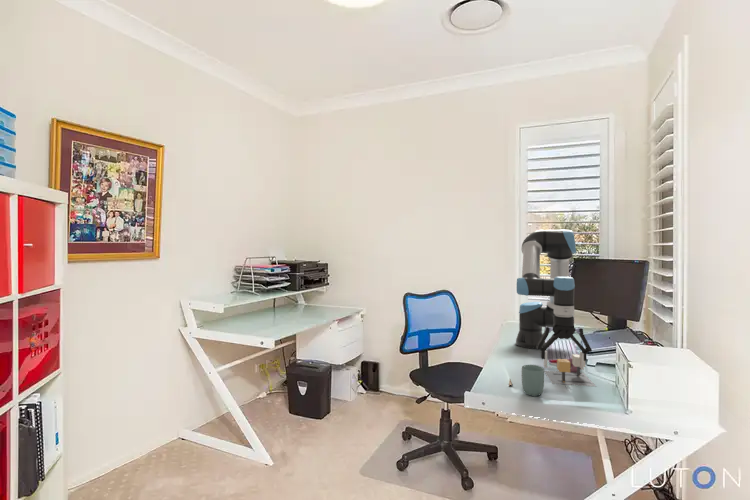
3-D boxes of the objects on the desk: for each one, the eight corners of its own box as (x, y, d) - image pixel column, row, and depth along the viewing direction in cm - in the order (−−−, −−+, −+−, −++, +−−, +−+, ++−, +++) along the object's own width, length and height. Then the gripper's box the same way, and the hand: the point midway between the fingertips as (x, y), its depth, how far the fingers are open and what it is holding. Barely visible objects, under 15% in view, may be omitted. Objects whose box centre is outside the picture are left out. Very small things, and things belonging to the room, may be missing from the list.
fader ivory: (571, 372, 171) (572, 354, 170) (582, 373, 170) (582, 354, 170) (574, 376, 167) (574, 356, 167) (585, 376, 166) (585, 357, 166)
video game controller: (577, 378, 172) (585, 364, 171) (567, 373, 173) (575, 359, 172) (571, 371, 182) (578, 358, 181) (561, 366, 183) (569, 353, 182)
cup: (517, 392, 154) (517, 366, 154) (532, 388, 157) (532, 363, 157) (532, 399, 147) (532, 372, 147) (548, 396, 150) (548, 369, 150)
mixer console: (543, 373, 175) (543, 370, 175) (583, 375, 172) (583, 372, 172) (552, 386, 159) (552, 383, 159) (596, 389, 156) (596, 386, 156)
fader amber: (556, 378, 164) (557, 358, 164) (567, 378, 164) (567, 359, 163) (559, 381, 160) (559, 361, 160) (570, 382, 160) (570, 362, 159)
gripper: (532, 316, 160) (532, 369, 161) (601, 318, 155) (600, 372, 156) (529, 312, 167) (528, 363, 168) (594, 314, 163) (593, 366, 163)
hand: (563, 367), depth 162 cm, fingers open, 13 cm apart
